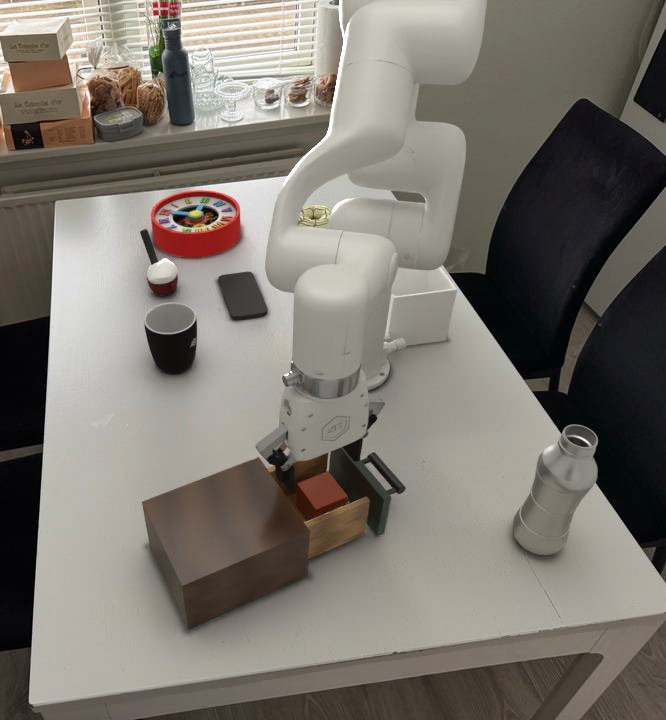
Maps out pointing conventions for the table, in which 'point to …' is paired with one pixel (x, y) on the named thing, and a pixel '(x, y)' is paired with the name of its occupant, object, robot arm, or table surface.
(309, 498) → the block
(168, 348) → the mug
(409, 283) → the storage container
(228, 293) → the phone
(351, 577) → the table surface
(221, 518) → the cabinet
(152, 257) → the cocoa
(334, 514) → the wooden drawer
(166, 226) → the toy clock
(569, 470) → the silver metal bottle
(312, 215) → the decorated donut
